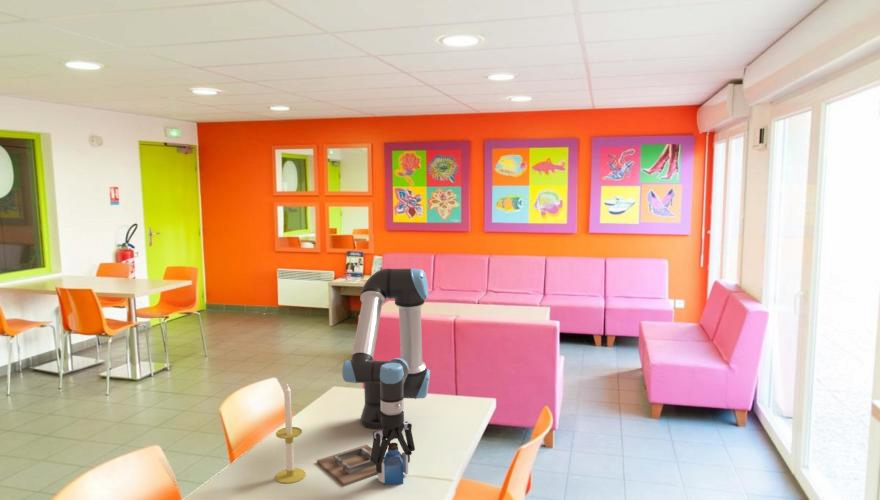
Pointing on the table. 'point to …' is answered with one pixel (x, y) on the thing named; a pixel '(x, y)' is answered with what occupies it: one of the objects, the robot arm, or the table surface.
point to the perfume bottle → (393, 465)
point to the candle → (289, 444)
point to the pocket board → (350, 465)
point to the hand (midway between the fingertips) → (393, 476)
